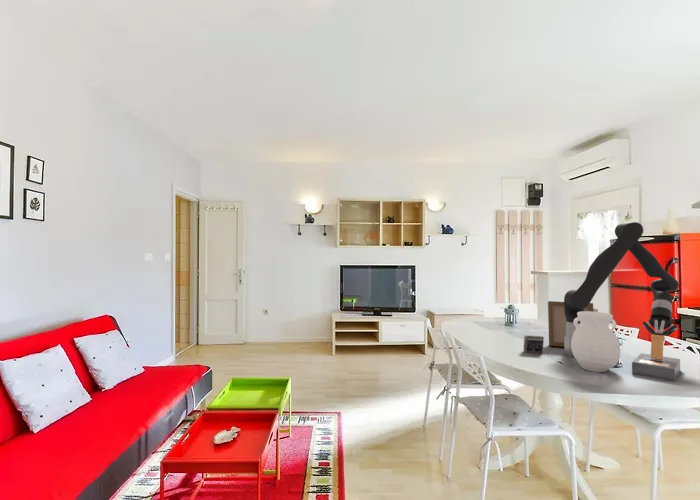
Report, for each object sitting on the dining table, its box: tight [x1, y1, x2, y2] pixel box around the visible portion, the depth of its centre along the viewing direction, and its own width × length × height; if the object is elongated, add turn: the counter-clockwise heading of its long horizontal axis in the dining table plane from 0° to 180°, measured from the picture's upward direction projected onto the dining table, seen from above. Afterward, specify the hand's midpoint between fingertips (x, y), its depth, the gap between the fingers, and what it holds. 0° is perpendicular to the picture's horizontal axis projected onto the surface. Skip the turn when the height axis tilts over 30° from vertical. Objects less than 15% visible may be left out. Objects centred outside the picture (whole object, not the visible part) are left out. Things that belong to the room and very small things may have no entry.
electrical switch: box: [523, 334, 545, 355], centre depth 198 cm, size 9×5×9 cm, turn 78°
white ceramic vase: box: [571, 311, 621, 373], centre depth 170 cm, size 19×18×25 cm
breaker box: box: [631, 352, 681, 382], centre depth 167 cm, size 14×22×5 cm, turn 134°
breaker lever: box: [650, 334, 666, 361], centre depth 168 cm, size 5×3×11 cm, turn 44°
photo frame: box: [547, 300, 594, 348], centre depth 214 cm, size 15×22×25 cm
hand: (658, 341), depth 171 cm, fingers closed
